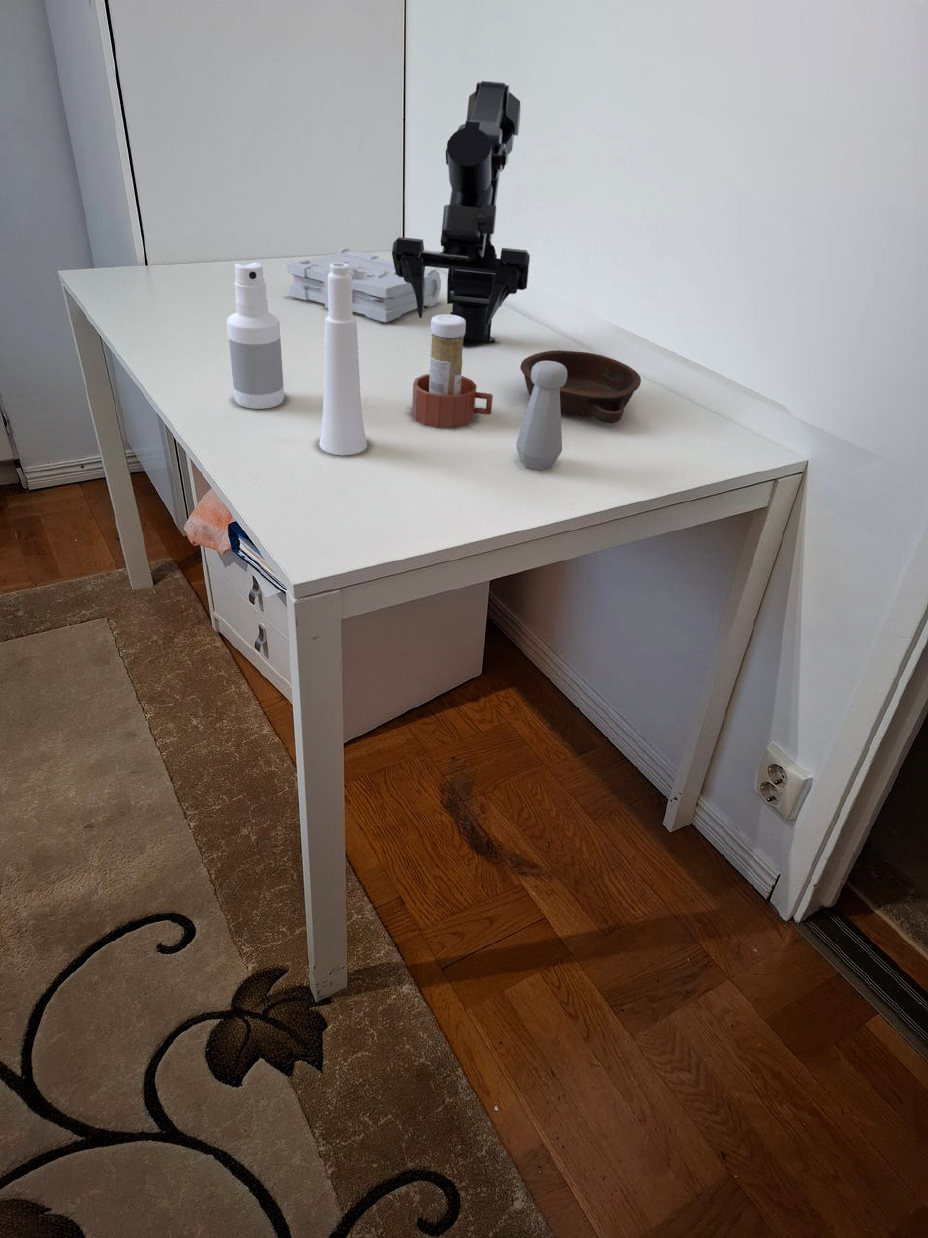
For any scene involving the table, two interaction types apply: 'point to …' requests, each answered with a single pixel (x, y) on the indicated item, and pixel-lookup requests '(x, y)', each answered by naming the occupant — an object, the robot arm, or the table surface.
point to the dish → (589, 383)
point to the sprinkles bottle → (446, 354)
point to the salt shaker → (542, 418)
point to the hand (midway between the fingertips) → (453, 320)
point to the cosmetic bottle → (341, 370)
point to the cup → (447, 404)
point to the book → (363, 284)
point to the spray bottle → (254, 343)
